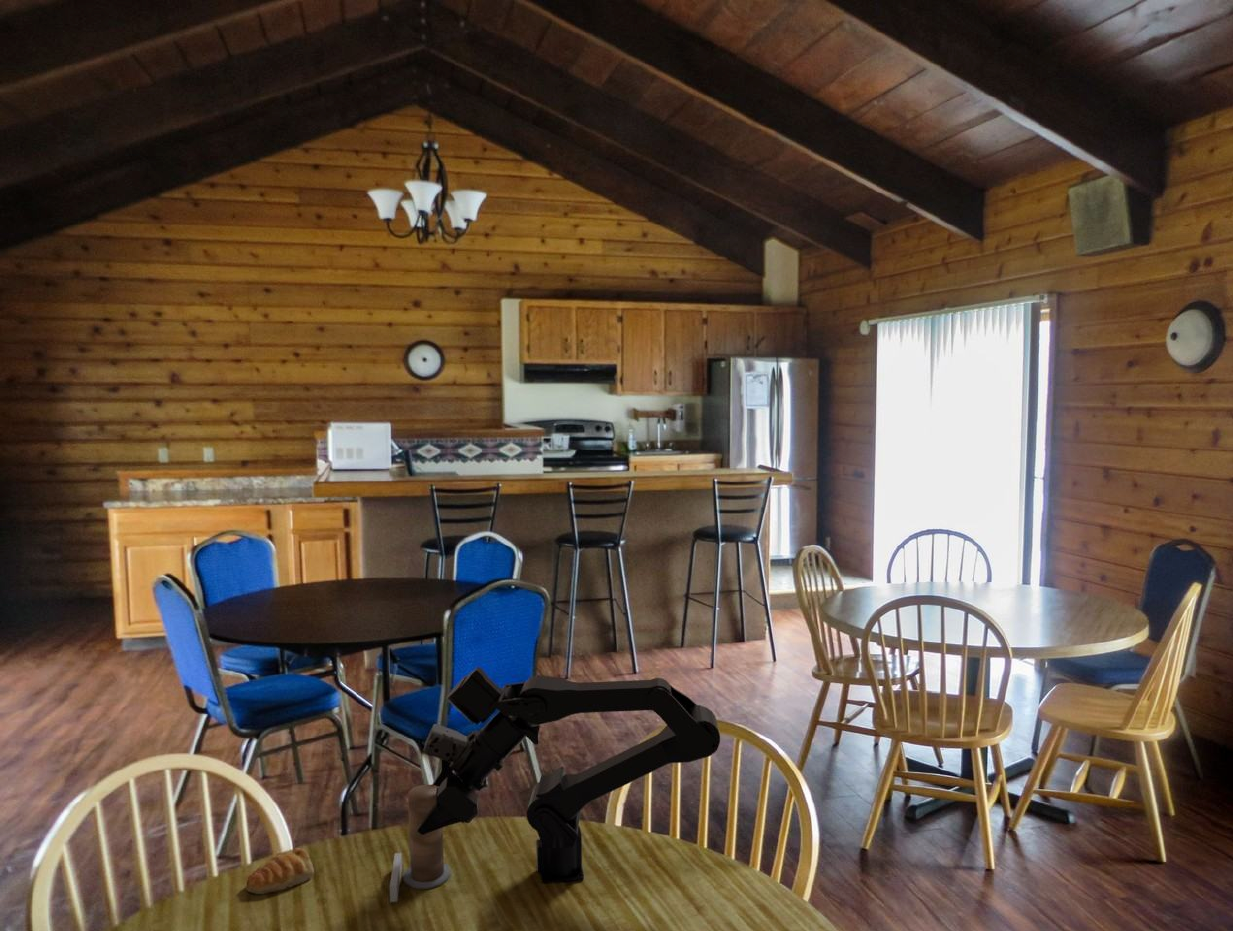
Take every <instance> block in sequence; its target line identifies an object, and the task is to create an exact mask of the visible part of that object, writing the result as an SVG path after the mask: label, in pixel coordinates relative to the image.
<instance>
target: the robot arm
mask: <svg viewBox="0 0 1233 931" xmlns="http://www.w3.org/2000/svg"><path fill="white" fill-rule="evenodd" d="M445 700H446V701H447V702H449V704H451V705H452V706H453V708H455V710H457V711H458V712H459V713H460V714H461V715H463V717H465V719H467V721H469V722H470V723H471V724H475V725H477V726H478V725H479V724H480V723H481V724H483V723H485V722H486V721H488V720H489V719H490V717H491V716H493V714H494V713H495V711H496V710H498V711H497V712H496V713H495V715H494V716H493V717H492V718H491V719H490V720H489V721H488V722H487V723H486V724H485V725H484V726H483V727H481V729H480V730H479V731H478V730H477V729H475V730H474V731H473V730H472V731H471V732H470V733H469V734H468V735H464V734H462V733H461V732H459V731H457V730H454V729H452V728H449V727H446V726H443V725H442V724H439V723H434V724H432V727H431V729H430V731H429V734H428V736H427V738H426V740H425V742H424V747H423V750H422V751H423V753H424V754H425V755H426V756H429V757H434V758H437V759H440V761H441V768H440V771H439V772H438V774H437V776H436V778H435V779H434V781H433V782H432V784H431V785H436V786H438V787H439V788H438V787H437V790H436V803H435V805H434V806H433V808H432V809H431V810H430V812H429V813H428V815H427V816H426V817H425V819H424V820H423V822H422V823H421V825H420V826H419V828H418V830H417V831H418V832H419V833H420V834H421V835H424V834H427V833H429V832H432V831H435V830H437V829H440V828H443V829H444V828H445V827H449V826H451V825H454V824H459V823H462V824H464V823H465V824H470V823H471V821H472V820H474V819H475V818H476V816H477V815H478V812H479V811H478V810H479V794H478V793H476V792H475V791H474V790H473V789H472V787H473V788H475V789H476V790H477V791H479V792H480V791H481V790H482V789H483V788H484V786H485V780H486V779H487V778H488V777H489V776H490V775H491V774H492V773H493V772H494V771H495V770H496V771H497V772H499V771H500V770H501V769H502V768H503V766H504V762H503V761H505V759H506V758H508V757H509V756H510V754H511V753H512V752H514V750H515V749H516V748H517V747H518V746H519V745H520V744H521V743H522V742H523V741H524V740H525V739H526V738H527V739H528V740H529V741H530V742H531V743H533V745H535V746H537V745H539V743H540V728H541V725H543V724H548V723H552V722H553V723H554V722H558V721H560V720H563V719H565V718H567V717H570V716H573V715H577V714H592V713H611V712H612V713H616V712H617V713H619V712H638V711H639V712H640V711H653V712H654V713H656V715H657V716H659V717H660V719H661V720H662V721H663V722H664V723H665V724H666V726H665V727H664V728H663V729H661V731H660V732H659V733H658V734H656V735H654V736H652V737H650V738H648V739H646V740H644V741H642V742H639V743H638V744H636V745H634V746H632V747H629V748H628V749H626V750H623V751H621V752H619V753H617V754H615V755H613V756H611V757H609V758H607V759H605V760H603V761H601V762H599V763H597V764H595V765H592V766H590V767H589V768H587V769H585V770H583V771H581V772H577V773H566V771H565V767H564V766H561V767H558V768H557V769H556V770H555V771H553V772H551V773H549V774H544V775H541V776H540V778H539V781H538V782H537V783H536V784H535V785H534V787H533V789H532V792H531V795H530V799H529V803H528V806H527V810H526V820H527V821H528V824H529V826H531V828H532V829H533V830H535V831H536V833H537V835H538V837H539V839H536V840H535V844H536V845H535V850H536V852H535V856H536V858H535V859H536V862H535V864H536V871H537V873H538V874H539V875H540V880H541V883H543V884H547V883H549V884H550V883H558V882H570V881H579V880H583V879H585V874H584V869H583V847H582V846H583V844H582V843H583V838H582V837H583V835H582V832H581V827H580V819H581V818H580V817H581V811H582V810H583V809H584V808H585V807H586V806H587V805H588V804H590V803H591V802H593V801H596V800H598V799H599V798H602V797H603V796H605V795H607V794H610V793H612V792H615V791H617V790H618V789H620V788H621V787H624V786H626V785H628V784H630V783H632V782H634V781H636V780H638V779H640V778H642V777H644V776H646V775H649V774H651V773H653V772H654V771H656V770H659V769H661V768H663V767H665V766H667V765H671V764H685V763H692V762H695V761H699V760H702V759H706V758H708V757H711V756H713V754H715V753H716V752H717V751H718V749H719V745H720V742H721V734H720V729H719V725H718V720H717V718H716V714H715V713H714V712H713V711H712V710H711V709H710V708H708V707H706V706H703V705H700V704H697V703H695V702H694V701H693V699H691V698H690V697H688V696H687V695H685V694H684V693H683V692H681V691H680V690H678V689H677V688H675V687H673V686H672V685H671V684H670V682H668V681H667V679H665V678H663V677H661V678H660V677H654V678H652V679H639V680H637V679H635V680H616V681H615V680H612V681H608V680H607V681H589V682H576V681H571V680H568V679H565V678H562V677H558V676H550V675H543V674H538V675H533V676H531V677H529V678H527V680H525V681H522V682H515V683H508V684H504V685H503V687H502V688H501V687H499V685H498V684H497V683H496V682H494V680H492V679H491V677H489V676H488V674H487V673H486V672H485V671H484V670H483V668H481V667H480V666H477V667H476V668H474V670H473V671H471V672H470V673H469V674H467V675H464V676H463V677H462V678H461V680H460V681H459V682H458V683H456V685H455V686H454V687H453V688H452V690H450V692H449V693H448V694H447V696H446V698H445Z"/></svg>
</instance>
